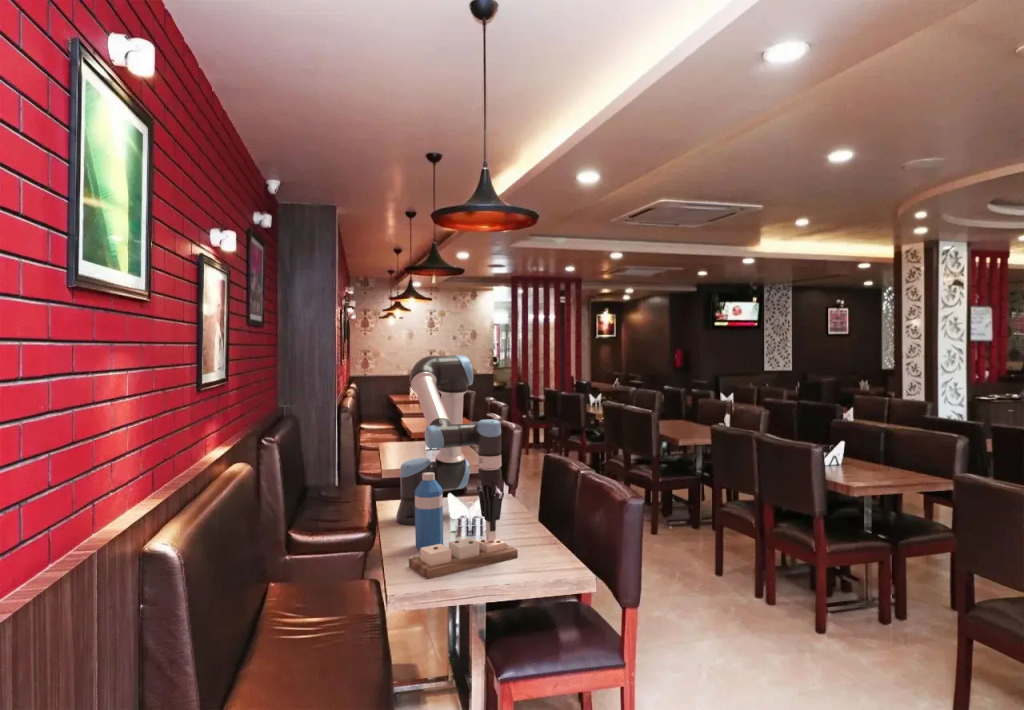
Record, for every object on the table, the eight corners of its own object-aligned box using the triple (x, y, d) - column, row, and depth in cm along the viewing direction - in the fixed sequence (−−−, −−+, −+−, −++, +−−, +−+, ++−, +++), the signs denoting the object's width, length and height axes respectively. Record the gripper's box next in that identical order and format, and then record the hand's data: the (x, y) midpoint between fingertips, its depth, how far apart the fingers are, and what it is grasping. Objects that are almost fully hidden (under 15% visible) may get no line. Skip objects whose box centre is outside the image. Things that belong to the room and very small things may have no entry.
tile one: (420, 560, 202) (420, 546, 202) (440, 556, 206) (440, 542, 206) (430, 567, 196) (430, 552, 196) (451, 562, 200) (451, 548, 200)
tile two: (449, 554, 208) (448, 540, 207) (468, 550, 212) (467, 536, 211) (460, 560, 202) (459, 546, 202) (479, 555, 206) (479, 542, 206)
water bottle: (449, 545, 223) (447, 472, 223) (431, 553, 216) (429, 477, 215) (428, 540, 229) (426, 469, 228) (409, 548, 221) (408, 474, 220)
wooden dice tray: (409, 566, 203) (408, 558, 203) (495, 546, 221) (495, 539, 221) (428, 578, 192) (428, 570, 192) (517, 557, 210) (517, 549, 210)
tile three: (476, 553, 213) (475, 540, 213) (494, 549, 217) (494, 536, 217) (487, 559, 207) (487, 545, 207) (505, 554, 211) (505, 541, 211)
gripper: (469, 466, 215) (470, 537, 215) (490, 472, 204) (491, 547, 205) (488, 463, 219) (489, 533, 220) (510, 469, 208) (511, 543, 209)
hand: (490, 540), depth 212 cm, fingers closed
